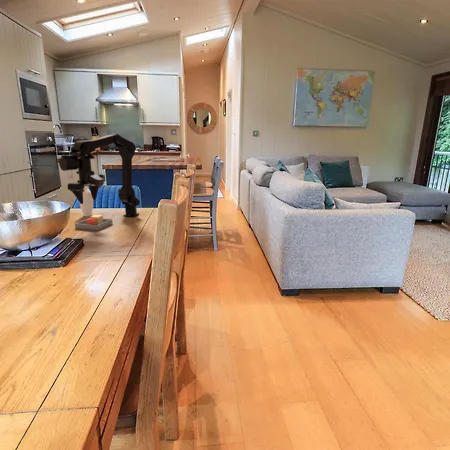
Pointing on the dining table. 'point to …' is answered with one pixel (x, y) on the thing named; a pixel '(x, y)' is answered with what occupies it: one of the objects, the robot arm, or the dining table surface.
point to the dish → (93, 227)
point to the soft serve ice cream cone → (87, 203)
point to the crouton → (97, 219)
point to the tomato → (90, 221)
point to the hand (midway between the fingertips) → (88, 201)
